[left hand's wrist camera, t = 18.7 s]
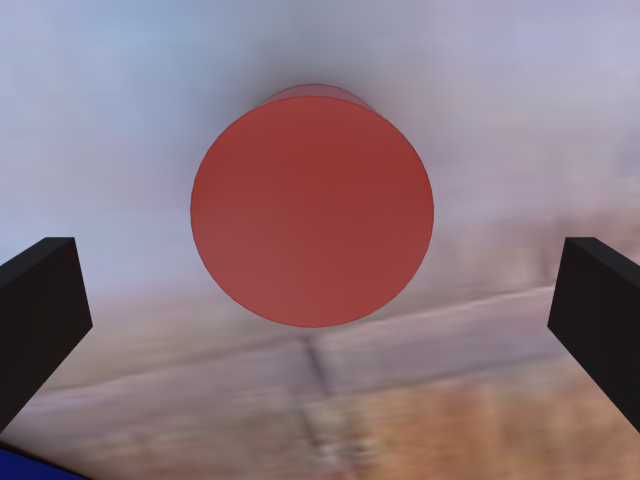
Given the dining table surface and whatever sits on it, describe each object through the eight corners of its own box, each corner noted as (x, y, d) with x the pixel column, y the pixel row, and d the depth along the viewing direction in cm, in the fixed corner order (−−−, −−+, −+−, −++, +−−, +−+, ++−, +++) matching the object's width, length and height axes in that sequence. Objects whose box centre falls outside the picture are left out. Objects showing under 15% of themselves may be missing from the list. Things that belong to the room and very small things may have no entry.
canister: (316, 268, 28) (315, 366, 19) (203, 168, 26) (140, 225, 17) (425, 165, 26) (484, 220, 17) (312, 46, 23) (307, 34, 14)
